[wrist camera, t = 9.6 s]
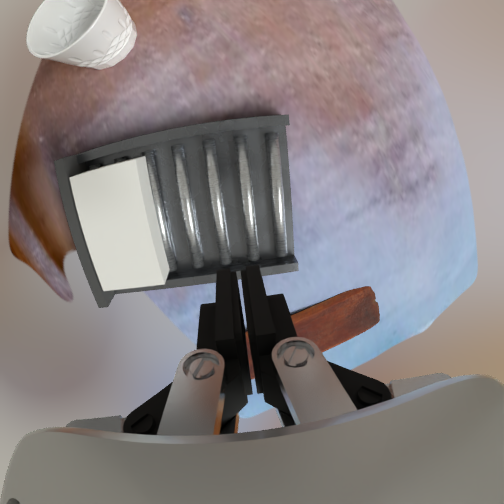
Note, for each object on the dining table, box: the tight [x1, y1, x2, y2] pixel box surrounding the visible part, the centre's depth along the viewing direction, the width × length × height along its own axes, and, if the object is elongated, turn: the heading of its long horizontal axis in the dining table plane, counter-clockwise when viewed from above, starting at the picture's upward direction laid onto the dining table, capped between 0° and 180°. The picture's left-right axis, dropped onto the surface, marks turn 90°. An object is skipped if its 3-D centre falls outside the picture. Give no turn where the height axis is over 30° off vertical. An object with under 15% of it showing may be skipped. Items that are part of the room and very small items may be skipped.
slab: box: [70, 156, 170, 291], centre depth 24 cm, size 12×7×3 cm, turn 6°
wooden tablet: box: [245, 286, 380, 379], centre depth 36 cm, size 27×10×2 cm, turn 111°
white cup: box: [26, 0, 137, 70], centre depth 14 cm, size 8×8×10 cm
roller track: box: [54, 115, 298, 308], centre depth 25 cm, size 16×22×5 cm
